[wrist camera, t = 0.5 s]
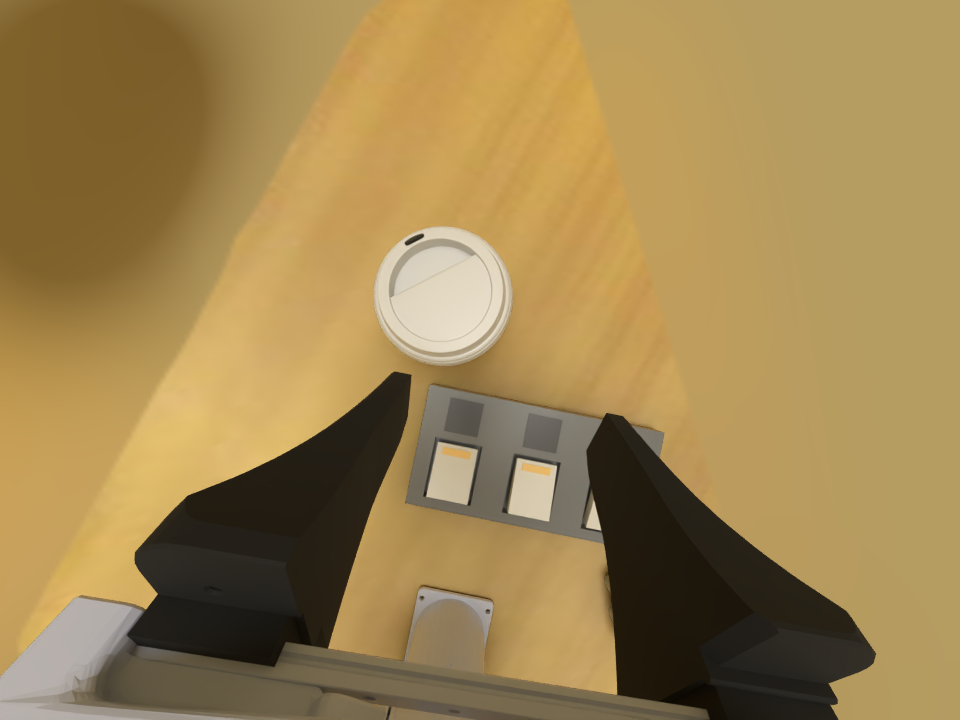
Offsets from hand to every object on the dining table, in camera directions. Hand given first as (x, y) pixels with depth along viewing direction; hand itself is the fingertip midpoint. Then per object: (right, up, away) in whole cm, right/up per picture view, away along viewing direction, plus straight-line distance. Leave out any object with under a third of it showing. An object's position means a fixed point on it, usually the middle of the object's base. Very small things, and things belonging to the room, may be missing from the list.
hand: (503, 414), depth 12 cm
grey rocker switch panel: (+5, -9, +24) cm, 26 cm away
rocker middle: (+4, -11, +21) cm, 24 cm away
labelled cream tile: (-4, -9, +21) cm, 23 cm away
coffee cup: (-4, +6, +24) cm, 25 cm away
